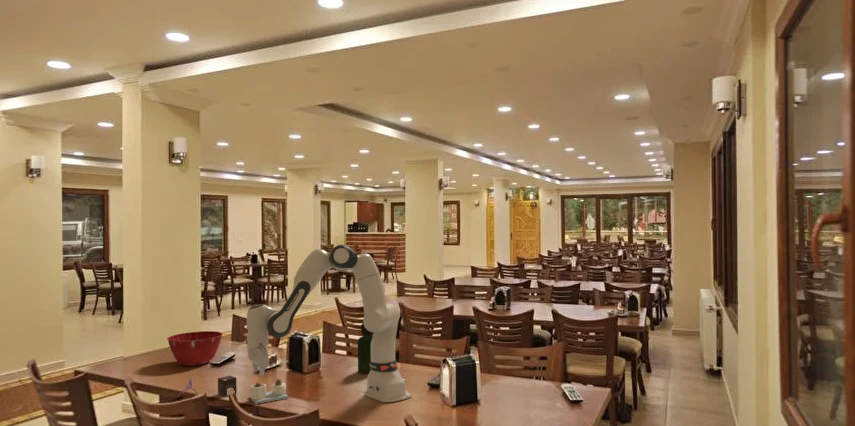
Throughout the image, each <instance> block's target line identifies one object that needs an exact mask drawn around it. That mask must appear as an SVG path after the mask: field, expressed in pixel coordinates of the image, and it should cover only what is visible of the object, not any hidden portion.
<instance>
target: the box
mask: <svg viewBox="0 0 855 426" xmlns="http://www.w3.org/2000/svg"><path fill="white" fill-rule="evenodd" d="M228 388H233V389H234V391H235V394H237V377H236V376H232V375H225V376H223V377H218V378H217V394H219V395H218V396H222V397H224V396H225V397H227V396H226V395H227V389H228Z"/></svg>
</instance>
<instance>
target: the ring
mask: <svg viewBox="0 0 855 426" xmlns="http://www.w3.org/2000/svg"><path fill="white" fill-rule="evenodd" d="M255 385H256V383H255V384H251V386H250V395H251V399H254V400H257V399H263V398H265V397H266V392H267V384H266V383H260V385H262V387H255ZM251 399H250V400H251Z"/></svg>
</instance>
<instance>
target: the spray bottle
mask: <svg viewBox="0 0 855 426" xmlns="http://www.w3.org/2000/svg"><path fill="white" fill-rule="evenodd" d="M360 334H361V335H362V336H361V337H359V338H358V339H357V372H358V373H360V374H362V375H368V374H369V373H370V370H371V369H370V360H371V341H372V338H373V334H374V332H370V331H368V330H367V329H366V328H365V326H364V323H363V322H362V323H361V325H360Z"/></svg>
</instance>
